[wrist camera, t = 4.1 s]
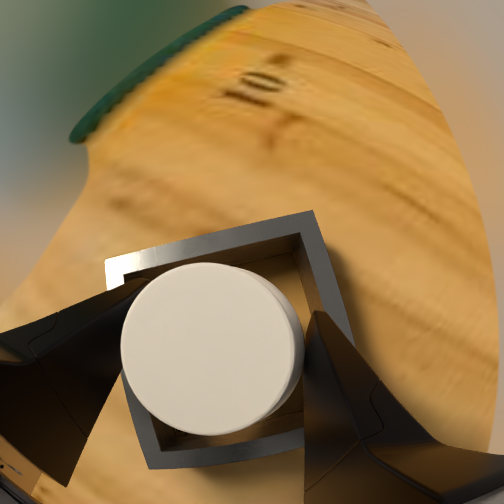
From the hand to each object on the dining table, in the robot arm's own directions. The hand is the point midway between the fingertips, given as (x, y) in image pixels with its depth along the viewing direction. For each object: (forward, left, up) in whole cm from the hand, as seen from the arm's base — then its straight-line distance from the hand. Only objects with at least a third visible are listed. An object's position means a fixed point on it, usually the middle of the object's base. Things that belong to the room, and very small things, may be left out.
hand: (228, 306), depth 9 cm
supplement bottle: (-1, +1, -7) cm, 7 cm away
